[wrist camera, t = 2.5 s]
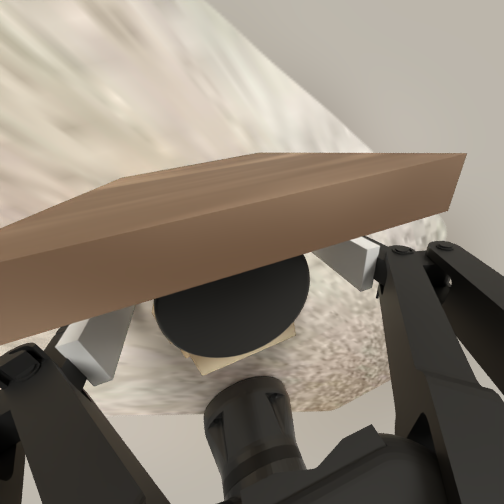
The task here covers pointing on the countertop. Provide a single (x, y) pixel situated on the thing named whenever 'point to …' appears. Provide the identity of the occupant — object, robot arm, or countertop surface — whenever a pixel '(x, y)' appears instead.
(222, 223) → the rack
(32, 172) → the countertop surface
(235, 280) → the jar
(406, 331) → the robot arm
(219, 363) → the offcut short
